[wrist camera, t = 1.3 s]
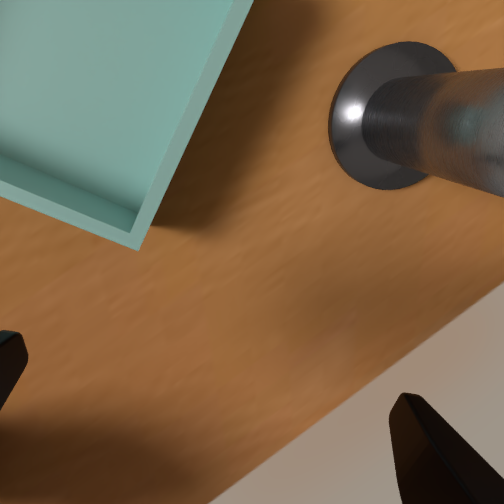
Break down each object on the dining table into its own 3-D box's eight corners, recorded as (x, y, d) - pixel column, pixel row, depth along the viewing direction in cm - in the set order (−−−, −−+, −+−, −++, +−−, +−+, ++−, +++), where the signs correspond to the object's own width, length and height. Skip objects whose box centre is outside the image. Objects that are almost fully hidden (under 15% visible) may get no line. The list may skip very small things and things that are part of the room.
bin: (145, 225, 19) (138, 251, 16) (-134, 106, 16) (-218, 109, 12) (255, -17, 16) (274, -45, 13) (-60, -238, 12) (-146, -358, 9)
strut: (406, 177, 20) (672, 272, 9) (343, 139, 19) (568, 198, 8) (453, 102, 19) (820, 109, 8) (391, 56, 18) (728, -9, 7)
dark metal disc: (404, 208, 21) (410, 211, 21) (302, 150, 19) (306, 151, 19) (481, 90, 20) (490, 90, 19) (379, 11, 17) (385, 9, 17)
